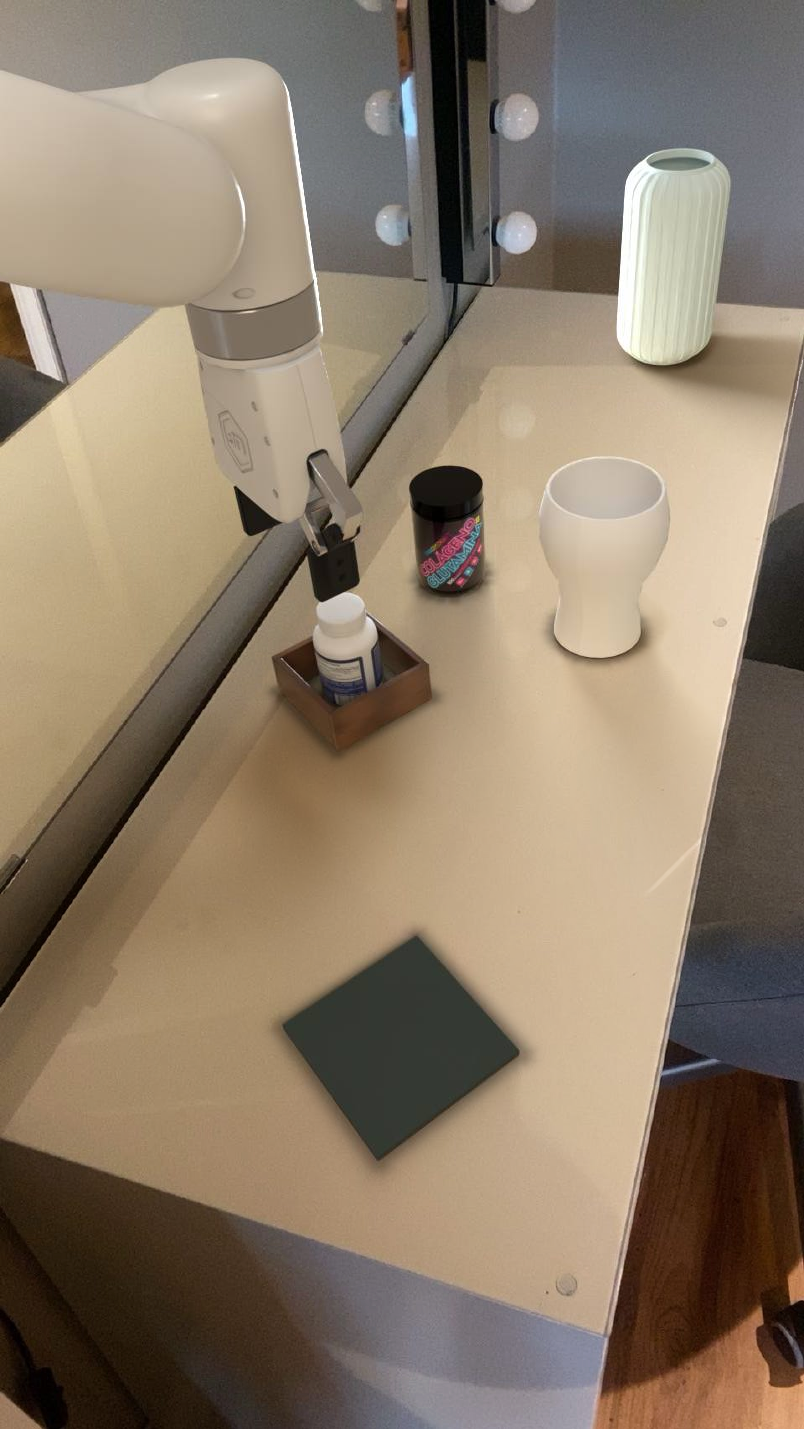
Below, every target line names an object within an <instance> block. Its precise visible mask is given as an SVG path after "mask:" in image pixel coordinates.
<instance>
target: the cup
mask: <svg viewBox="0 0 804 1429" xmlns="http://www.w3.org/2000/svg"><path fill="white" fill-rule="evenodd" d="M661 475H662V474H660V473H658V471H656V470H655V469H654V468H653V467H651V466H650V465H647V464H645V463H643V462H642V461H638V460H634V459H631V458H628V457H620V456H613V455H611V456H609V455H605V456H601V455H599V456H591V457H585V458H581V459H578V460H574V461H571V462H569V463H567V464H565V465H563V466H561V467H559V468H558V469H557V470H556V471H554V472H553V473H552V474H551V476H550V477H549V479H548V481H547V483H546V485H545V488H544V492H543V496H542V499H541V501H540V502H541V503H540V507H539V514H538V539H539V544H540V546H541V549H542V551H543V554H544V558H545V560H546V563H547V566H548V568H549V569H550V571H551V573H552V574H553V576H554V577H555V580H556V581H557V585H558V586H557V587H558V593H559V600H558V604H557V609H556V612H555V618H554V624H553V634H554V636H555V639H556V640H557V642H558V643H559V644H560V646H562V647H563V648H564V649H566V650H567V651H569V652H571V653H573V654H576V655H578V656H581V657H586V658H592V659H593V658H595V659H604V658H610V657H612V658H613V657H616V656H618V655H621V654H624V653H627V651H629V650H631V649H632V648H634V646H635V645H636V644H637V643H638V642H639V639H640V637H641V635H642V632H641V631H642V630H641V613H640V604H639V599H640V595H641V593H642V592H641V591H642V588H643V585H644V583H645V582H646V580H647V579H648V578H649V576H650V575H651V574H652V573H653V572H654V571H655V569H656V567H657V565H658V563H659V560H660V559H661V556H662V554H663V552H664V550H665V548H666V545H667V543H668V541H669V534H670V525H671V509H670V503H669V497H668V496H669V495H668V491H667V486H666V482H665V480H664V479H663V477H662V476H661Z"/></svg>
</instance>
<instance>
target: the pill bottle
mask: <svg viewBox="0 0 804 1429" xmlns="http://www.w3.org/2000/svg"><path fill="white" fill-rule="evenodd" d="M365 610H366V605H365V602H364V600H363V599H362V598H361V597H360V595H359V596H358V595H357V594H354V593H351V592H344V593H342V594H340V595H337V596H335V597H333V598H331V599H329V600H327V601H325V602H320V601H318V604H317V605H316V609H315V615H316V620H317V624H316V626H315V627H314V630H313V633H312V636H313V644H314V650H315V655H316V659H317V665H318V670H319V674H318V675H319V680H320V685H321V690H322V694H323V699H324V700H325V701H326V702H327V703H328V704H329V705H330V706H331V707H332V708H333V709H334V710H336V709H338V708H340V707H342V706H343V705H345V704H347V703H349V702H351V701H353V700H354V699H356V698H358V697H360V696H362V695H363V694H365V693H367V692H369V691H371V690H373V689H374V688H376V687H378V686H380V685H382V684H383V683H385V678H384V670H383V662H382V661H381V655H380V648H379V641H378V634H377V630H376V626H375V624H374V623H373V621H372V620H371V619H370V618H369V617H367V616H366V611H367V610H366V611H365Z"/></svg>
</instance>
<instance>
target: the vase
mask: <svg viewBox="0 0 804 1429" xmlns="http://www.w3.org/2000/svg"><path fill="white" fill-rule="evenodd" d="M731 181H732V180H731V176H730V173H729V170H728V168H727V167H726V165H725V164H724V163H723V162H722V161H721V160H719V158H717V157H716V156H715V155H714V154H712V153H711V152H708V151H706V150H702V149H697V148H686V147H685V148H683V147H681V148H669V149H663V150H659V151H656V152H653V153H651V154H649V155H648V156H647V157H645V159H643V160H642V161H640V162H639V163H638V164H636V166H635V167H634V168H633V169H632V170H631V172H630V173H629V174H628V177H627V179H626V182H625V186H624V187H625V188H624V202H623V218H622V219H623V220H622V234H621V235H622V236H621V252H620V268H619V272H620V273H619V284H618V285H619V286H618V303H617V317H616V318H617V319H616V337H617V340H618V343H619V345H620V346H621V348H622V349H623V350H624V351H625V352H626V353H627V354H628V355H630V356H631V357H633V359H635V360H636V361H639V362H641V363H644V364H648V365H653V366H672V365H676V364H680V363H683V362H685V361H687V360H690V359H691V358H693V357H695V356H696V355H698V354H699V353H700V352H701V351H703V349H704V348H705V347H706V346H707V345H708V343H709V342H710V340H711V337H712V333H713V327H714V320H715V312H716V303H717V296H718V288H719V282H720V273H721V265H722V256H723V249H724V241H725V234H726V225H727V218H728V210H729V203H730V202H729V201H730V194H731V185H732V184H731V183H732V182H731Z"/></svg>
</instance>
